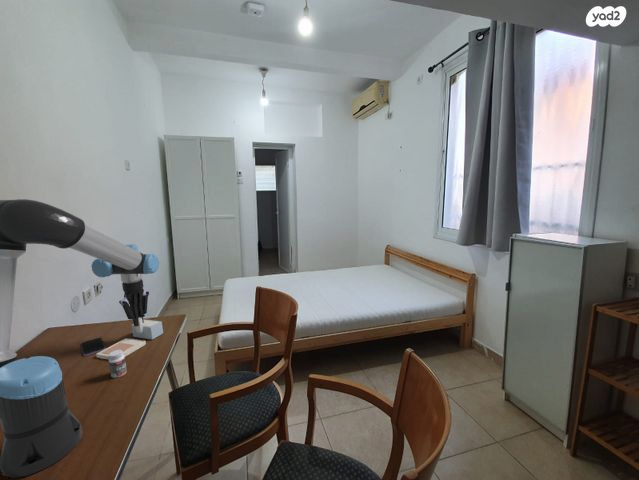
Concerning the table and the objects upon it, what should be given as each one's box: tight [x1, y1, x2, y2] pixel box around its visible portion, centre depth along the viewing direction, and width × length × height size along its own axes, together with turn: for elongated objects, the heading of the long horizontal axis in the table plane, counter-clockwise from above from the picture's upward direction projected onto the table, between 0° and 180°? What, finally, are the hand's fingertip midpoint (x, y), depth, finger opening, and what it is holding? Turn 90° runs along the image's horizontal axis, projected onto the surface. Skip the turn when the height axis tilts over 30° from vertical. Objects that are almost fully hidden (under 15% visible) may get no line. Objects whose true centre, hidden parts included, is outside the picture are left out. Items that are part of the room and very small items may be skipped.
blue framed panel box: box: [131, 318, 164, 340], centre depth 132 cm, size 6×11×6 cm, turn 73°
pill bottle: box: [108, 350, 128, 379], centre depth 104 cm, size 5×5×8 cm
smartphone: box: [80, 337, 106, 357], centre depth 124 cm, size 7×1×15 cm
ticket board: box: [95, 337, 147, 361], centre depth 120 cm, size 13×11×2 cm
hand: (140, 331), depth 128 cm, fingers closed
